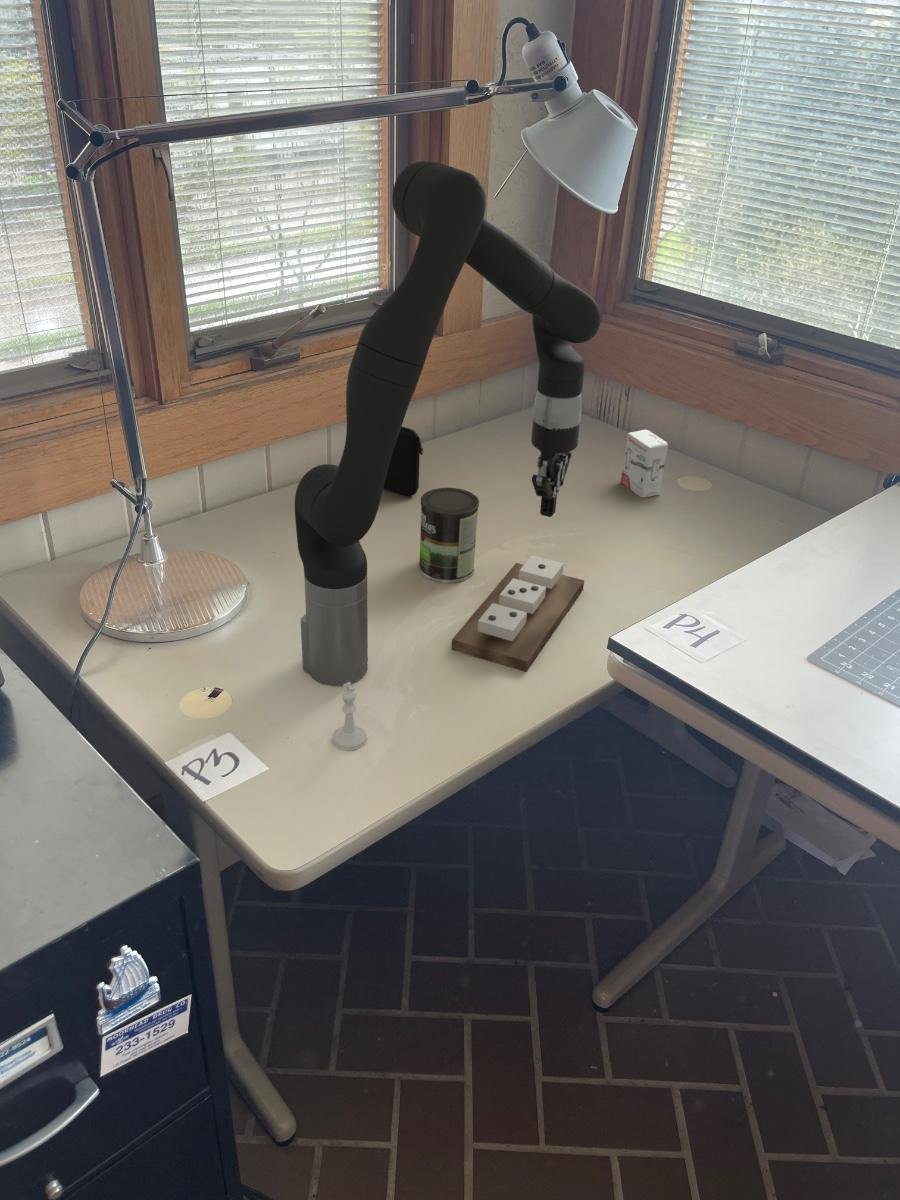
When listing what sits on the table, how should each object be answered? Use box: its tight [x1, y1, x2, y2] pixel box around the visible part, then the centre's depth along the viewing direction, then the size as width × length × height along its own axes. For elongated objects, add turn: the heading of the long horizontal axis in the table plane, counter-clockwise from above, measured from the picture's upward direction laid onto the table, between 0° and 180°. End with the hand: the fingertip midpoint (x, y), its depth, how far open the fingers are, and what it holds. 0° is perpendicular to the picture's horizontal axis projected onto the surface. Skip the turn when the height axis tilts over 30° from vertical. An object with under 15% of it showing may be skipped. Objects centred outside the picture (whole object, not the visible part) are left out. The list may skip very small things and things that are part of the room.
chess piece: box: [331, 682, 368, 752], centre depth 141 cm, size 5×5×10 cm
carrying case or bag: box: [383, 425, 424, 497], centre depth 207 cm, size 11×3×15 cm, turn 58°
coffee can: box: [418, 487, 480, 584], centre depth 182 cm, size 10×10×14 cm
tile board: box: [451, 562, 585, 673], centre depth 172 cm, size 13×28×2 cm, turn 155°
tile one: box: [519, 555, 565, 589], centre depth 177 cm, size 6×6×2 cm
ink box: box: [620, 429, 669, 499], centre depth 214 cm, size 9×5×12 cm, turn 25°
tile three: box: [499, 578, 546, 614], centre depth 170 cm, size 6×6×2 cm
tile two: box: [478, 603, 527, 641], centre depth 163 cm, size 6×6×2 cm
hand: (547, 514), depth 171 cm, fingers closed
